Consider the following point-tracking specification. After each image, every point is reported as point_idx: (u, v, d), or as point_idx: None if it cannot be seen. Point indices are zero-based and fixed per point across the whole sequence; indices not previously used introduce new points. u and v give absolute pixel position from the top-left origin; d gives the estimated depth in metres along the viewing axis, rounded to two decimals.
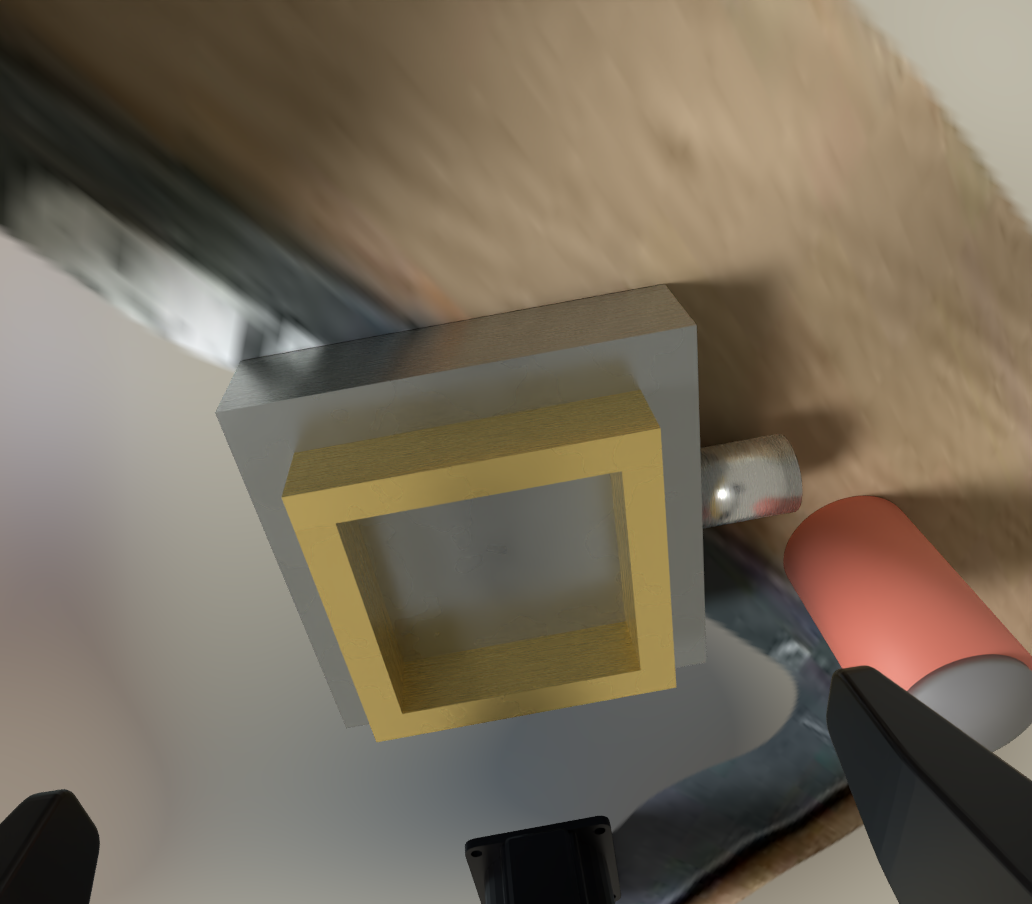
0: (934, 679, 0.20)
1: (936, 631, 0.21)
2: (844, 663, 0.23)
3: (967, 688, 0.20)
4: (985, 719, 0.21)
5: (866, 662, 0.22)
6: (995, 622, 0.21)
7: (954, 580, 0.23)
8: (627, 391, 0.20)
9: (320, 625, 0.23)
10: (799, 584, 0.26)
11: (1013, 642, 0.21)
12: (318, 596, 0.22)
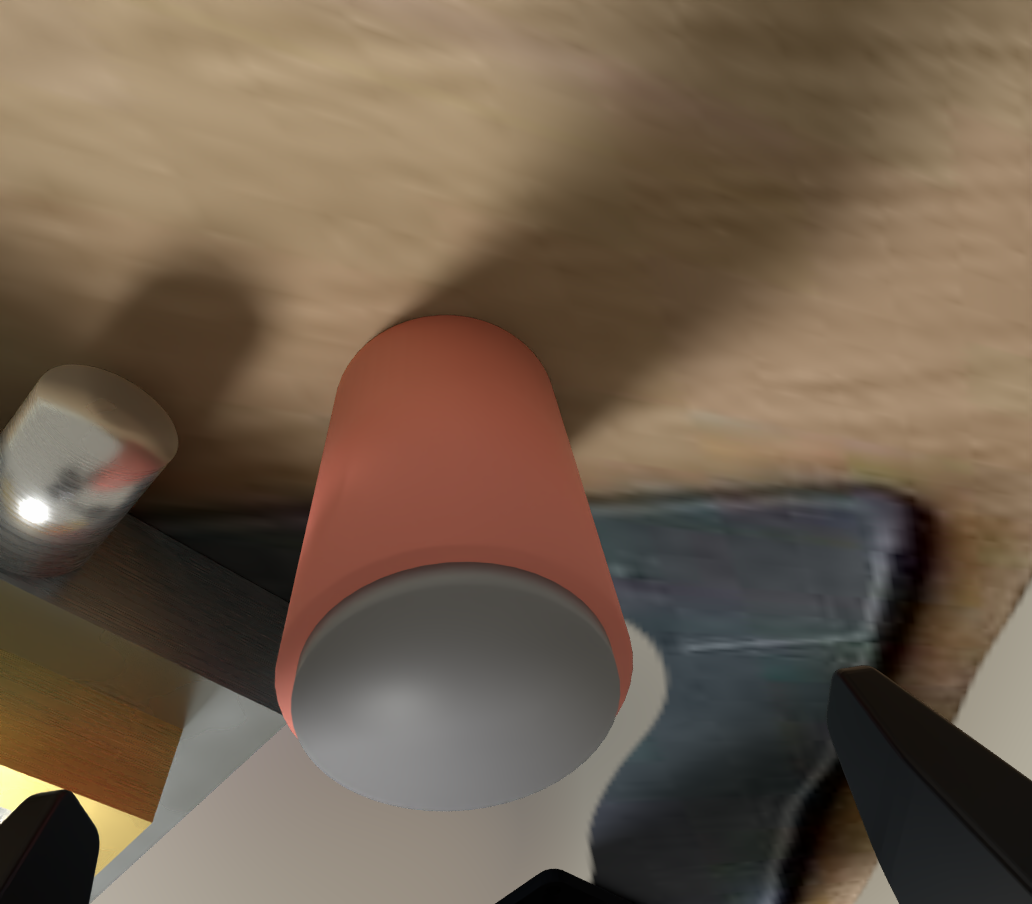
0: (293, 693, 0.09)
1: (297, 582, 0.10)
2: None
3: (361, 679, 0.09)
4: (496, 696, 0.09)
5: None
6: (413, 494, 0.09)
7: (399, 432, 0.11)
8: None
9: None
10: None
11: (413, 531, 0.09)
12: None
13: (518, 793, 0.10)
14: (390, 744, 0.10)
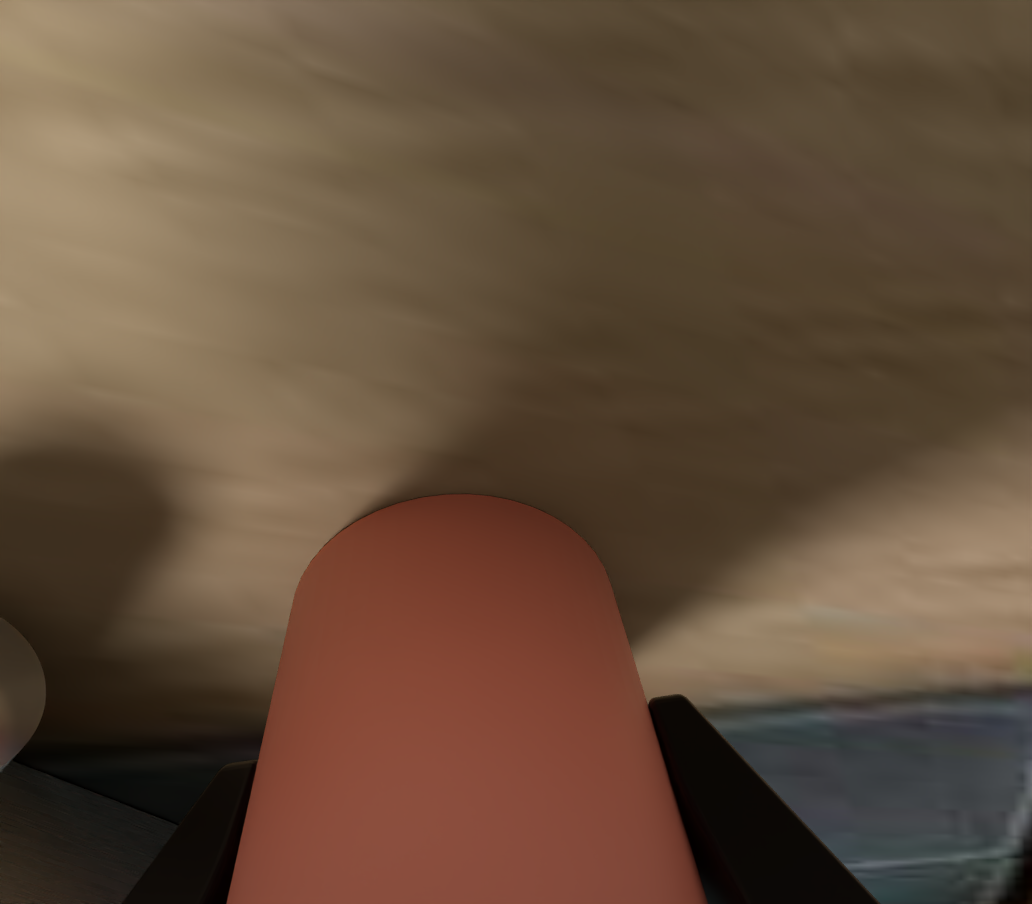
0: None
1: None
2: None
3: None
4: None
5: None
6: None
7: (377, 812, 0.06)
8: None
9: None
10: None
11: None
12: None
13: None
14: None
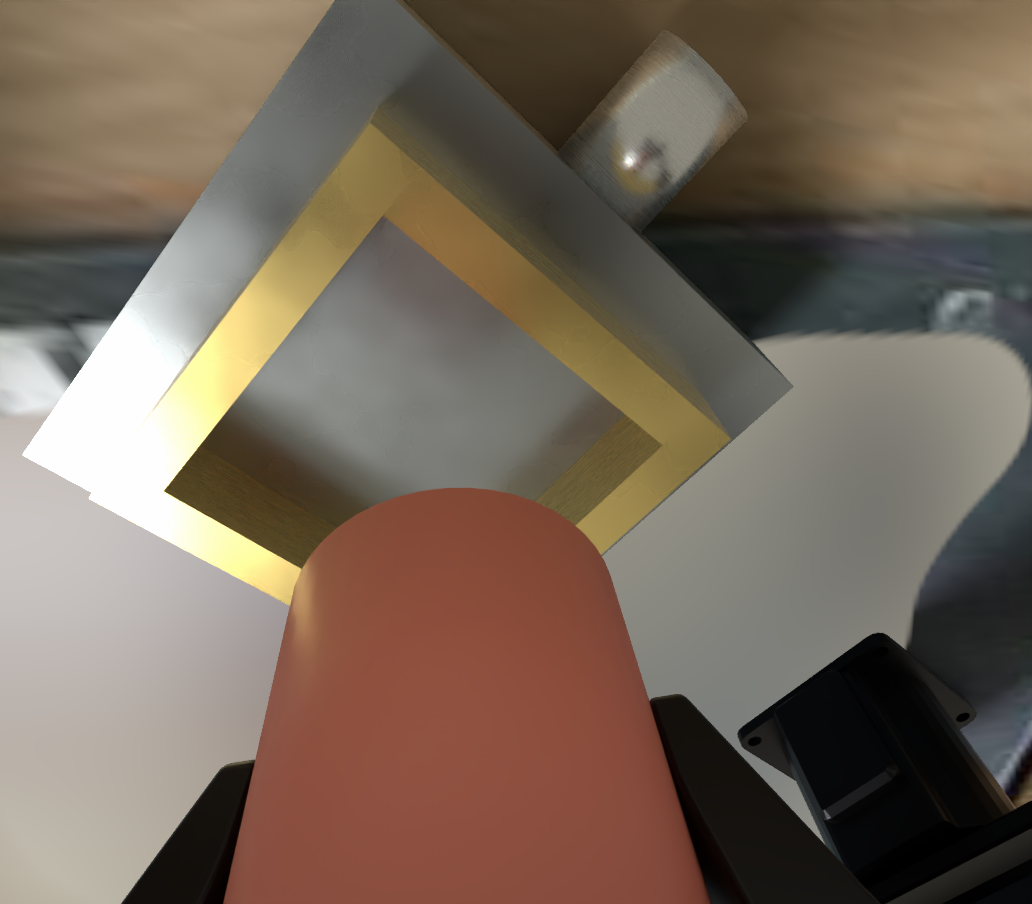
0: None
1: None
2: None
3: None
4: None
5: None
6: None
7: (378, 806, 0.06)
8: (365, 120, 0.14)
9: None
10: None
11: None
12: None
13: None
14: None
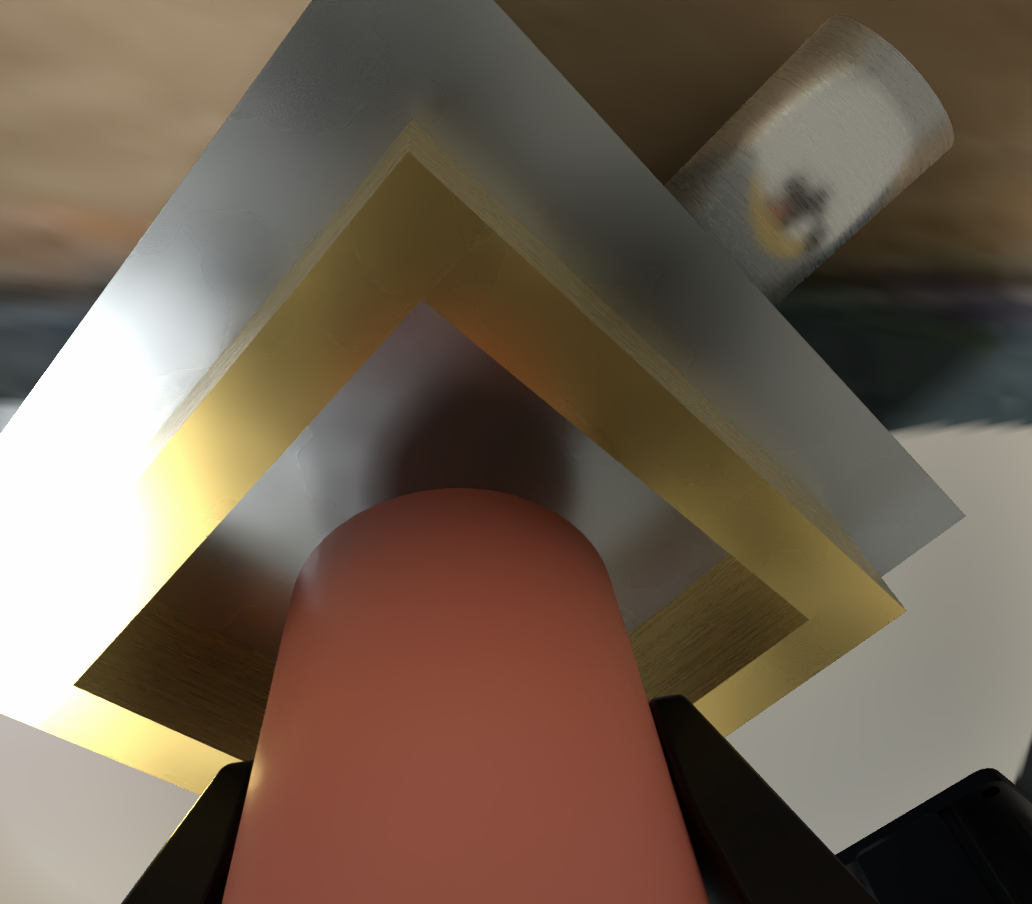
0: None
1: None
2: None
3: None
4: None
5: None
6: None
7: (375, 806, 0.06)
8: (392, 141, 0.09)
9: None
10: None
11: None
12: None
13: None
14: None
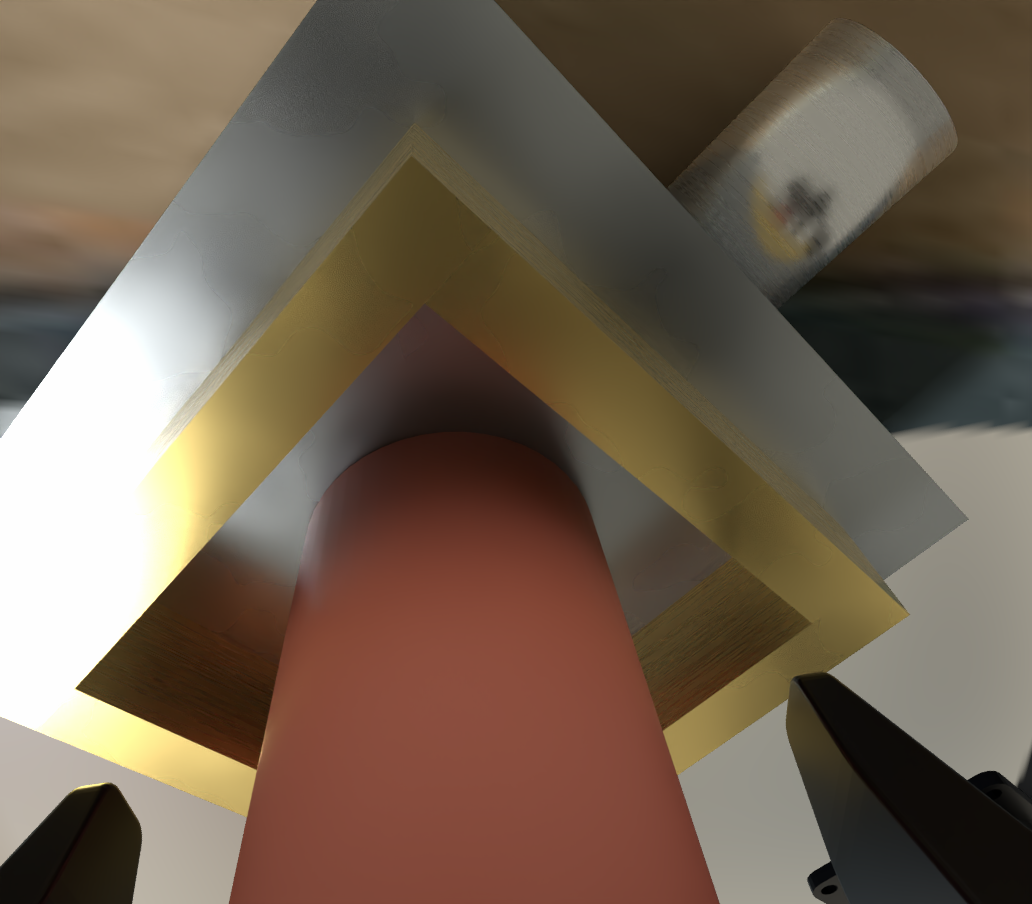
0: None
1: None
2: None
3: None
4: None
5: None
6: (413, 824, 0.06)
7: (390, 665, 0.07)
8: (394, 144, 0.09)
9: None
10: None
11: None
12: None
13: None
14: None
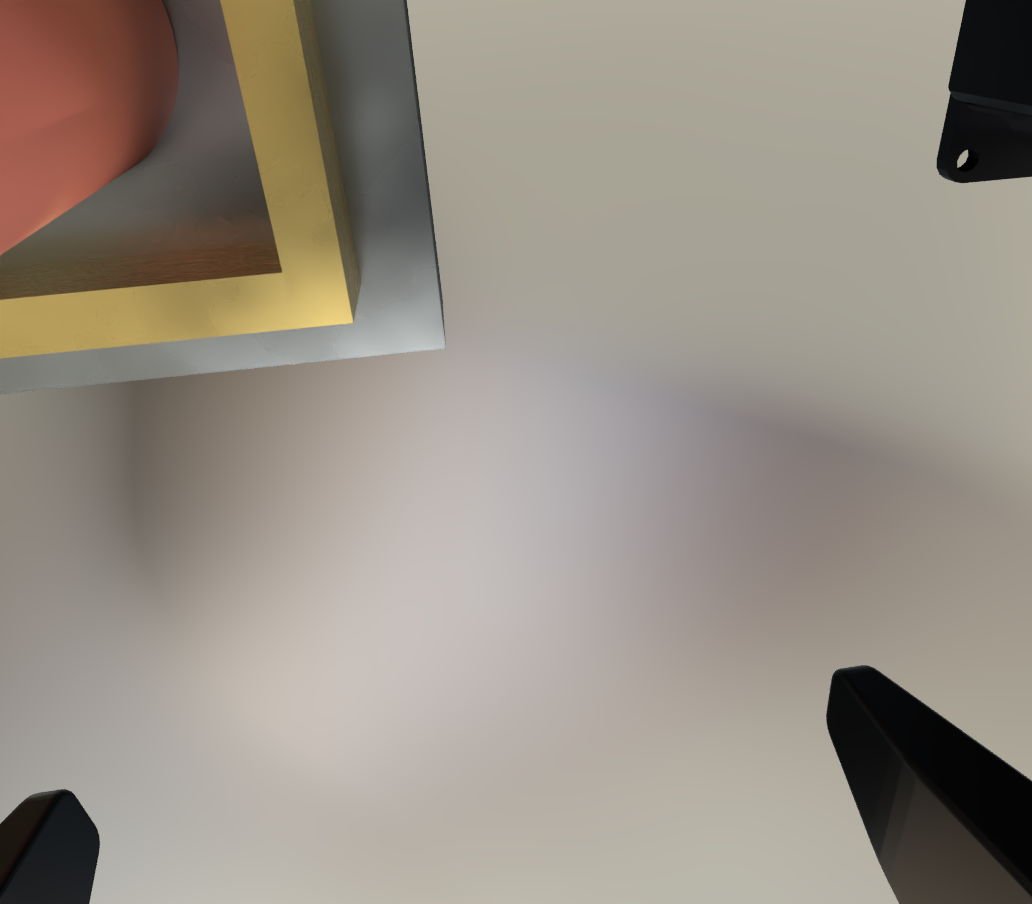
0: None
1: None
2: None
3: None
4: None
5: None
6: None
7: None
8: None
9: (215, 350, 0.15)
10: None
11: None
12: (156, 343, 0.15)
13: None
14: None
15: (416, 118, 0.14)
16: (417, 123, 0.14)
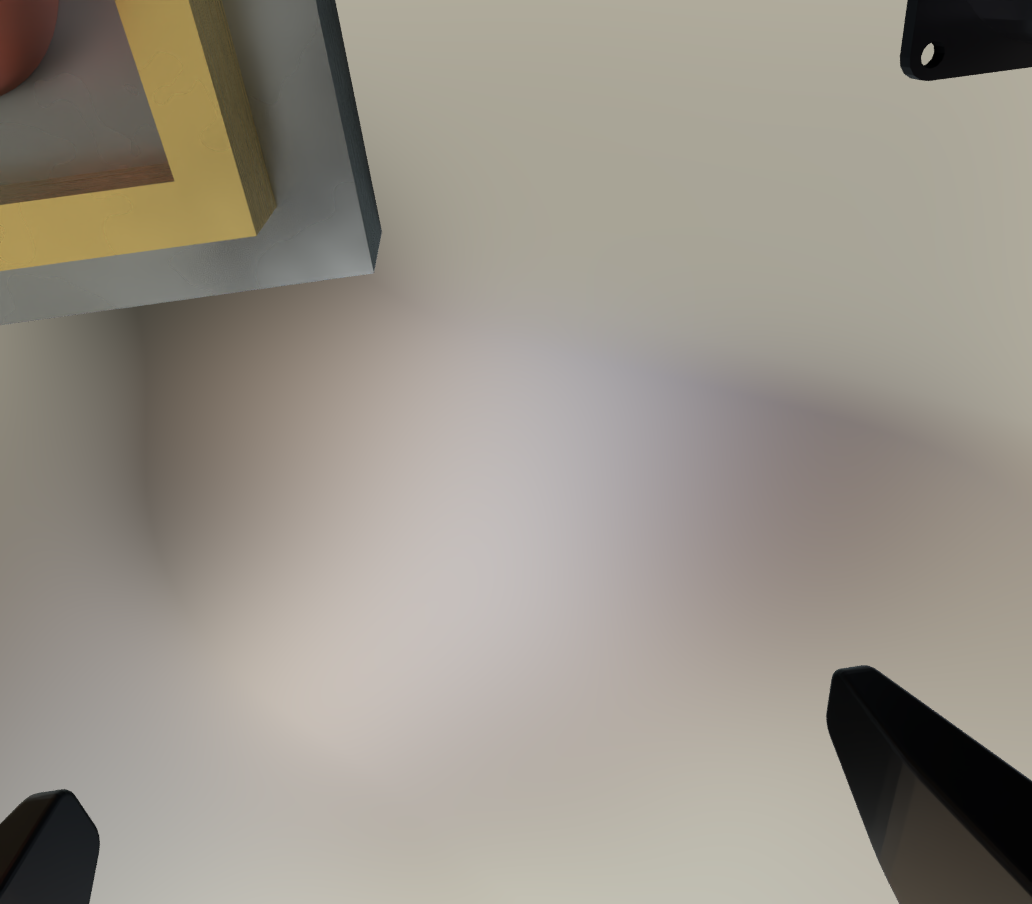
0: None
1: None
2: None
3: None
4: None
5: None
6: None
7: None
8: None
9: (131, 282, 0.15)
10: None
11: None
12: (69, 277, 0.15)
13: None
14: None
15: (317, 16, 0.13)
16: (319, 22, 0.13)
